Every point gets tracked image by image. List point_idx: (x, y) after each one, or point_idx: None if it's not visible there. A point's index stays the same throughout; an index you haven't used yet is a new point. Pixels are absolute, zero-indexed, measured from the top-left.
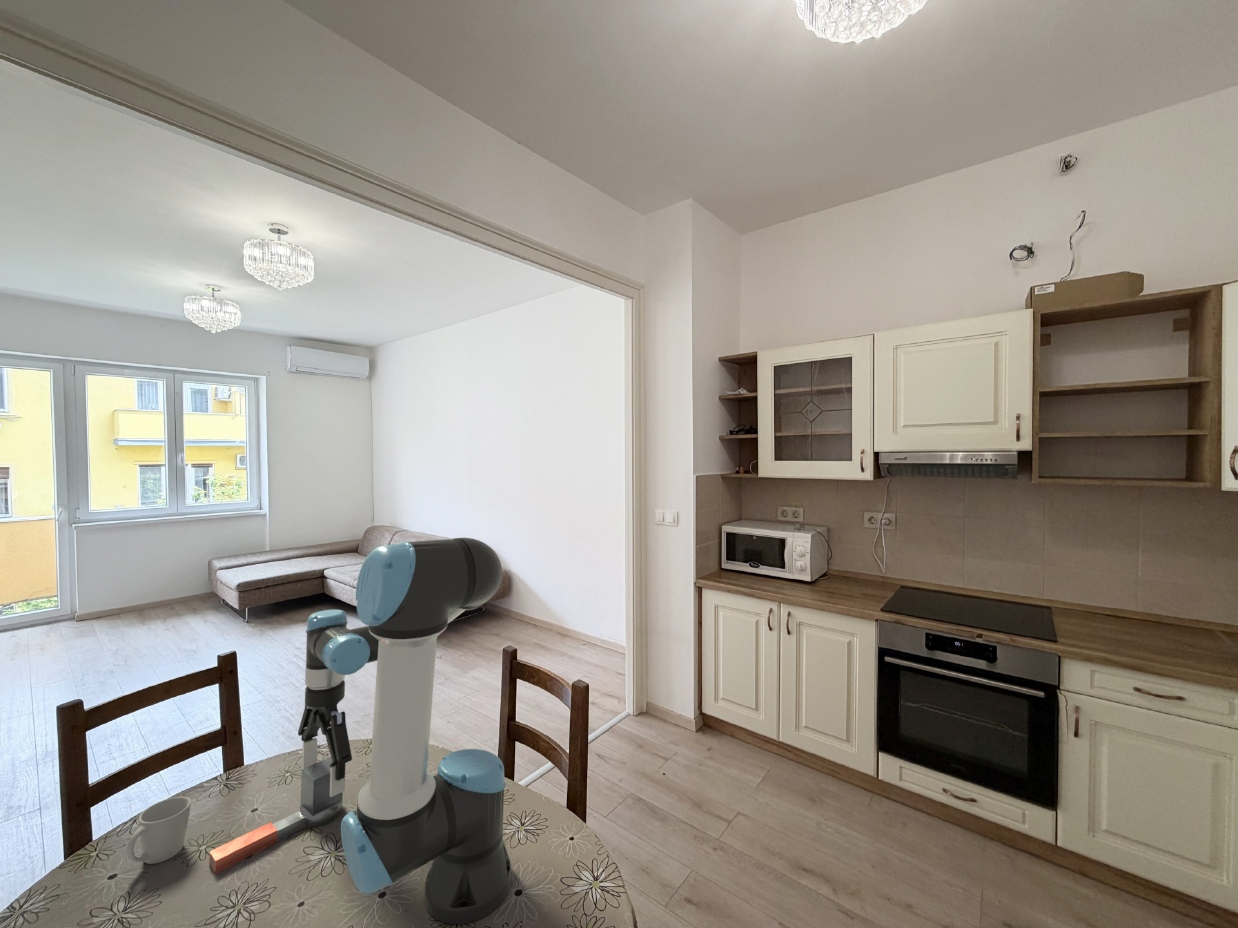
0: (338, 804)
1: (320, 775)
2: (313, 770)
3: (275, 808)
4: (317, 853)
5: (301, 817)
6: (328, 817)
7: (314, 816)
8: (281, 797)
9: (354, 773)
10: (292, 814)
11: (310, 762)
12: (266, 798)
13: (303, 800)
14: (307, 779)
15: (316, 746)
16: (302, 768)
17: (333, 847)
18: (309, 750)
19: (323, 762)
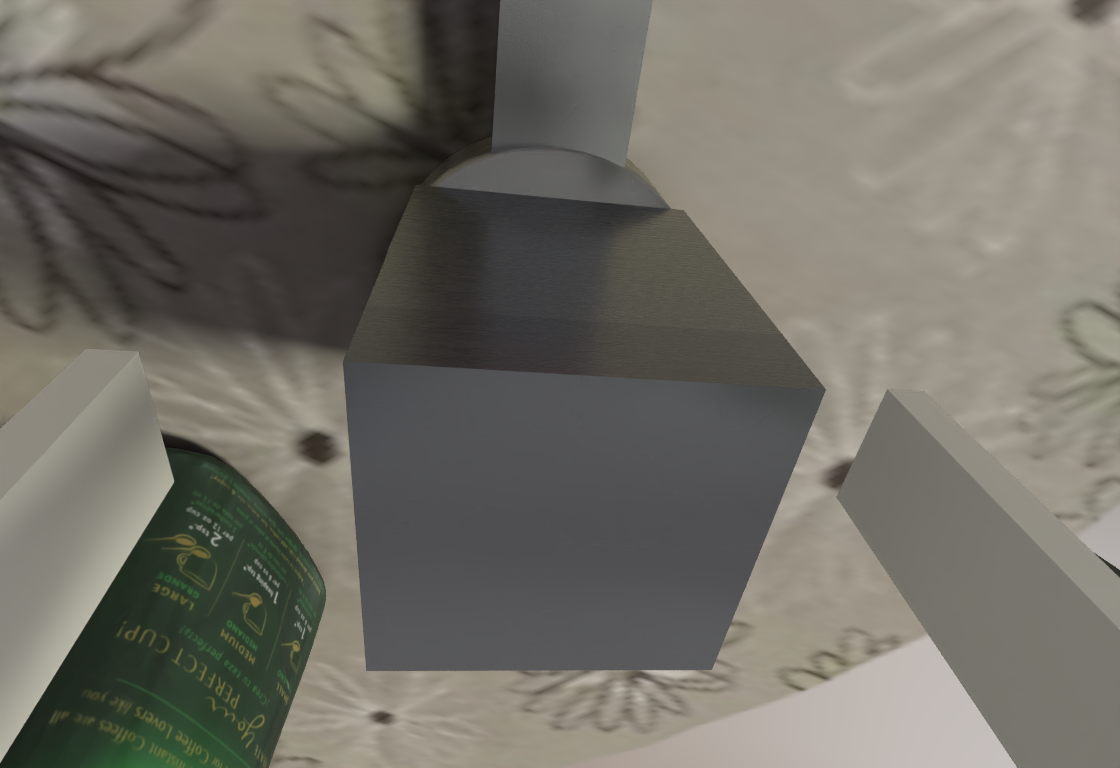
0: None
1: (395, 464)
2: (625, 463)
3: (929, 111)
4: (38, 5)
5: (515, 126)
6: None
7: None
8: (995, 209)
9: None
10: (631, 100)
11: (907, 508)
12: (1110, 135)
13: (634, 223)
14: (586, 335)
15: (992, 718)
16: (938, 415)
17: (35, 130)
18: (1029, 640)
19: (681, 593)
